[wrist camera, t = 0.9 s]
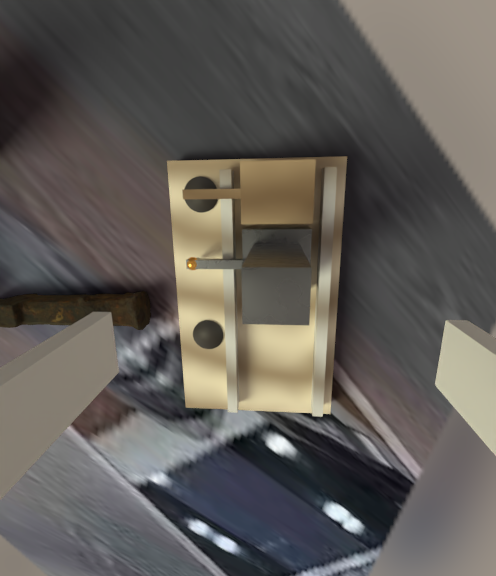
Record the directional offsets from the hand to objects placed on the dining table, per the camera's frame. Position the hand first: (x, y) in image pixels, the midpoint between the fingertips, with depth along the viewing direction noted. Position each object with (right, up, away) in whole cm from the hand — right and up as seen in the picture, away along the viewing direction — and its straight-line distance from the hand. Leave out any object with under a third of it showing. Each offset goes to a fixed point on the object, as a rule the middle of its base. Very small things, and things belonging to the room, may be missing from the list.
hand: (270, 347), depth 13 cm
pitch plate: (0, +2, +21) cm, 21 cm away
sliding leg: (-1, +5, +18) cm, 18 cm away
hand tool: (-21, 0, +24) cm, 32 cm away
